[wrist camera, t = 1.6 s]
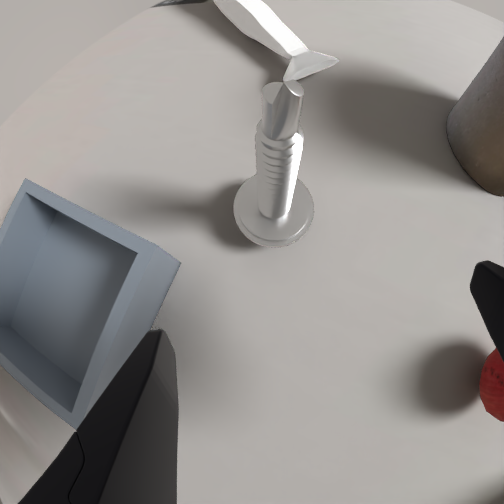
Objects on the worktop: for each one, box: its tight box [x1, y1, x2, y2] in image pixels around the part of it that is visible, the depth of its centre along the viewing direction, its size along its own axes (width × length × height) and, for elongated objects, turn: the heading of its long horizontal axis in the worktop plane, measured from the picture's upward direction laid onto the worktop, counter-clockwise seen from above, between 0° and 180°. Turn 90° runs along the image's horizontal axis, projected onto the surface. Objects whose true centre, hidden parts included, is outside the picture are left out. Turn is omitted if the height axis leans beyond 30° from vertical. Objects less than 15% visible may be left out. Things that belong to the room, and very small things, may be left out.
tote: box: [0, 178, 181, 430], centre depth 18 cm, size 12×12×5 cm
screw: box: [233, 79, 314, 248], centre depth 15 cm, size 13×5×5 cm
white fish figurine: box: [213, 0, 339, 82], centre depth 24 cm, size 6×18×4 cm, turn 32°
